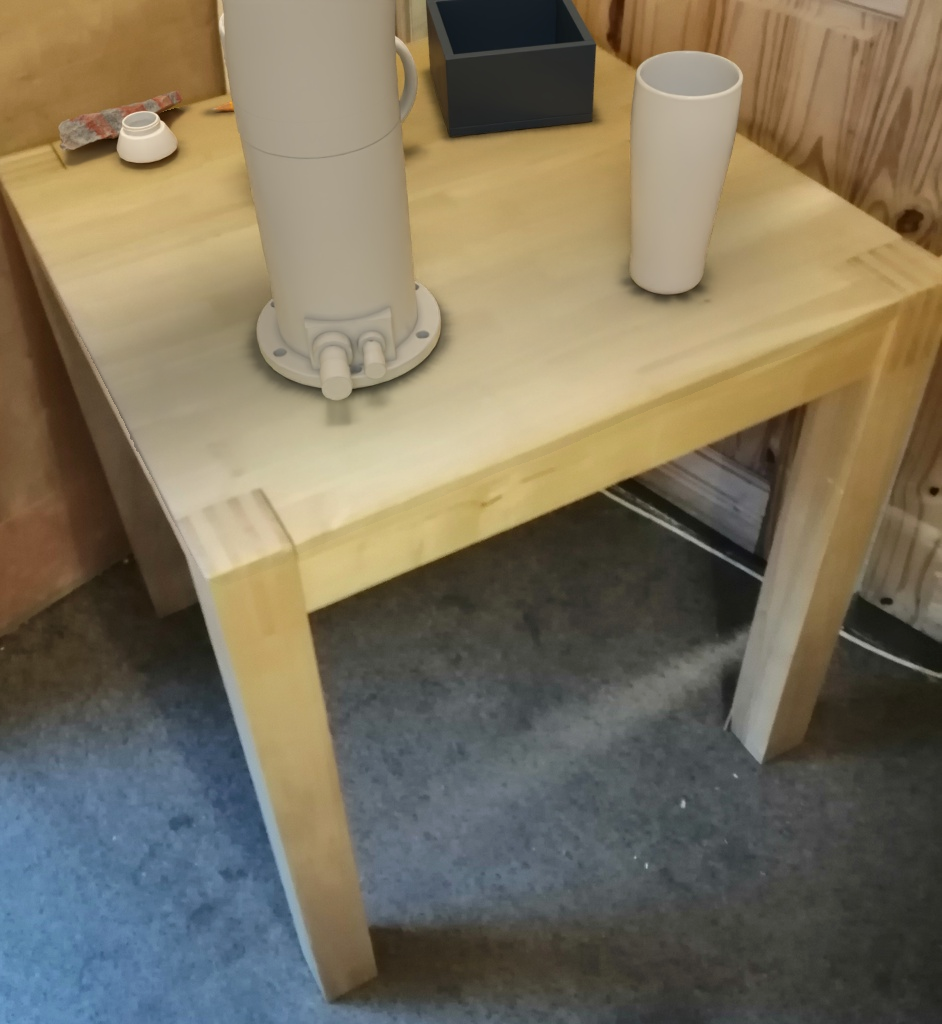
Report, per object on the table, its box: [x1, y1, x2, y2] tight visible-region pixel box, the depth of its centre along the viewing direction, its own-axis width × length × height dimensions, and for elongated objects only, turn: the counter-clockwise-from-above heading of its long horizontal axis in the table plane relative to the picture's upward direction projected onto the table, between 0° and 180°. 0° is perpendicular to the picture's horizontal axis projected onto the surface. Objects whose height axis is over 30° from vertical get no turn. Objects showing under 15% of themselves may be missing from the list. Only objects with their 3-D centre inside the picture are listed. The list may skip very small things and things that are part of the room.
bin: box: [425, 0, 597, 138], centre depth 95 cm, size 13×13×7 cm
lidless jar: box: [116, 111, 179, 164], centre depth 91 cm, size 5×3×5 cm
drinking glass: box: [628, 50, 744, 296], centre depth 72 cm, size 7×7×15 cm
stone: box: [57, 89, 184, 151], centre depth 94 cm, size 12×2×5 cm
